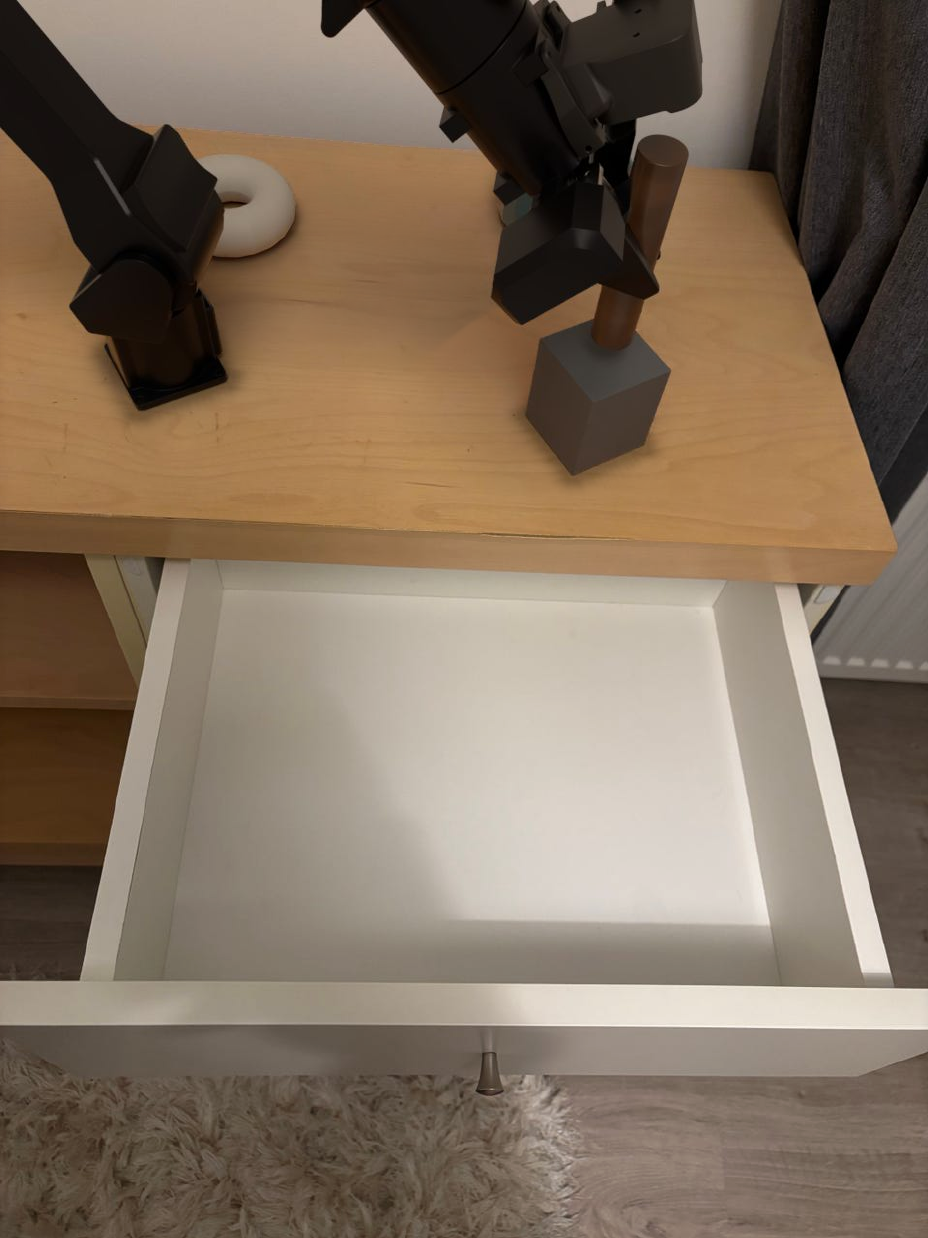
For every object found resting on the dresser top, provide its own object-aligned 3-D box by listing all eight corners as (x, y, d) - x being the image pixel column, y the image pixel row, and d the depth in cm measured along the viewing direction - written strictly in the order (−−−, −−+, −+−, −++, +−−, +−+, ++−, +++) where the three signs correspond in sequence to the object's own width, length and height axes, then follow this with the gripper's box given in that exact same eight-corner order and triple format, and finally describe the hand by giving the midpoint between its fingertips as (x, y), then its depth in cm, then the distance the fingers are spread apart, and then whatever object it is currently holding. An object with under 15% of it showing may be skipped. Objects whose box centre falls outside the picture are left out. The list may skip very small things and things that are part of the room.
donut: (240, 169, 74) (139, 219, 70) (235, 128, 71) (129, 178, 67) (324, 229, 71) (223, 285, 67) (322, 189, 68) (217, 245, 64)
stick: (606, 356, 54) (658, 170, 44) (582, 328, 55) (627, 140, 45) (640, 342, 55) (699, 157, 45) (616, 315, 56) (668, 128, 46)
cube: (572, 476, 60) (593, 402, 54) (524, 415, 63) (539, 338, 57) (644, 445, 62) (672, 370, 56) (595, 387, 65) (616, 309, 59)
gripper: (617, 39, 32) (801, 328, 42) (636, -177, 41) (783, 99, 51) (395, 204, 39) (597, 420, 48) (455, -14, 48) (614, 203, 58)
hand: (652, 277), depth 51 cm, fingers closed on stick, 2 cm apart
